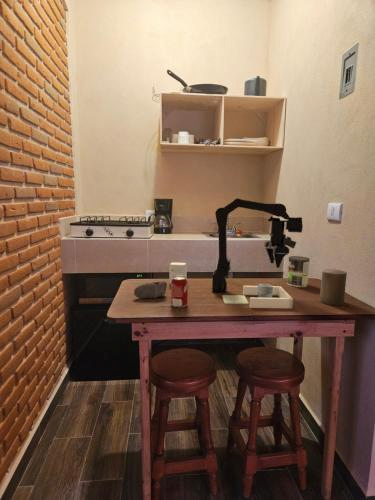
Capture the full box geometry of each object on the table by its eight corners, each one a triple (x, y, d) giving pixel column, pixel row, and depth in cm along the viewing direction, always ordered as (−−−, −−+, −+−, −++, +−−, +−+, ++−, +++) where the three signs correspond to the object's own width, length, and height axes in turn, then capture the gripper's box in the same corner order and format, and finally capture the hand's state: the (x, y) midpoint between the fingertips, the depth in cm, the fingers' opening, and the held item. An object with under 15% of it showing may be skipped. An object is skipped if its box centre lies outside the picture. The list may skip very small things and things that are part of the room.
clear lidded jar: (292, 287, 158) (293, 260, 155) (283, 282, 168) (285, 256, 165) (311, 287, 159) (313, 259, 156) (302, 281, 169) (303, 255, 166)
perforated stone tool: (134, 300, 135) (134, 285, 134) (133, 297, 140) (133, 281, 139) (168, 298, 139) (168, 283, 138) (166, 294, 144) (166, 280, 143)
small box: (186, 282, 165) (186, 262, 163) (184, 285, 160) (184, 265, 158) (171, 281, 167) (172, 261, 165) (169, 284, 161) (169, 264, 159)
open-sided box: (250, 307, 128) (250, 298, 127) (242, 294, 146) (243, 285, 145) (292, 308, 128) (293, 299, 127) (280, 294, 146) (280, 286, 145)
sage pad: (224, 303, 132) (224, 302, 132) (222, 296, 142) (222, 295, 142) (248, 304, 132) (248, 302, 132) (244, 296, 142) (244, 295, 142)
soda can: (181, 309, 125) (181, 280, 123) (167, 306, 128) (167, 278, 126) (190, 304, 131) (190, 276, 129) (177, 301, 134) (177, 274, 132)
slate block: (260, 302, 134) (261, 286, 133) (257, 298, 139) (258, 283, 138) (271, 302, 134) (272, 287, 133) (269, 299, 139) (269, 283, 138)
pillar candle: (345, 306, 130) (348, 271, 128) (319, 303, 134) (322, 269, 131) (342, 300, 139) (345, 267, 137) (318, 297, 143) (321, 265, 140)
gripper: (302, 234, 132) (299, 270, 135) (288, 229, 151) (285, 261, 153) (276, 233, 132) (273, 270, 135) (265, 229, 150) (263, 261, 153)
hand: (274, 265), depth 144 cm, fingers open, 9 cm apart
